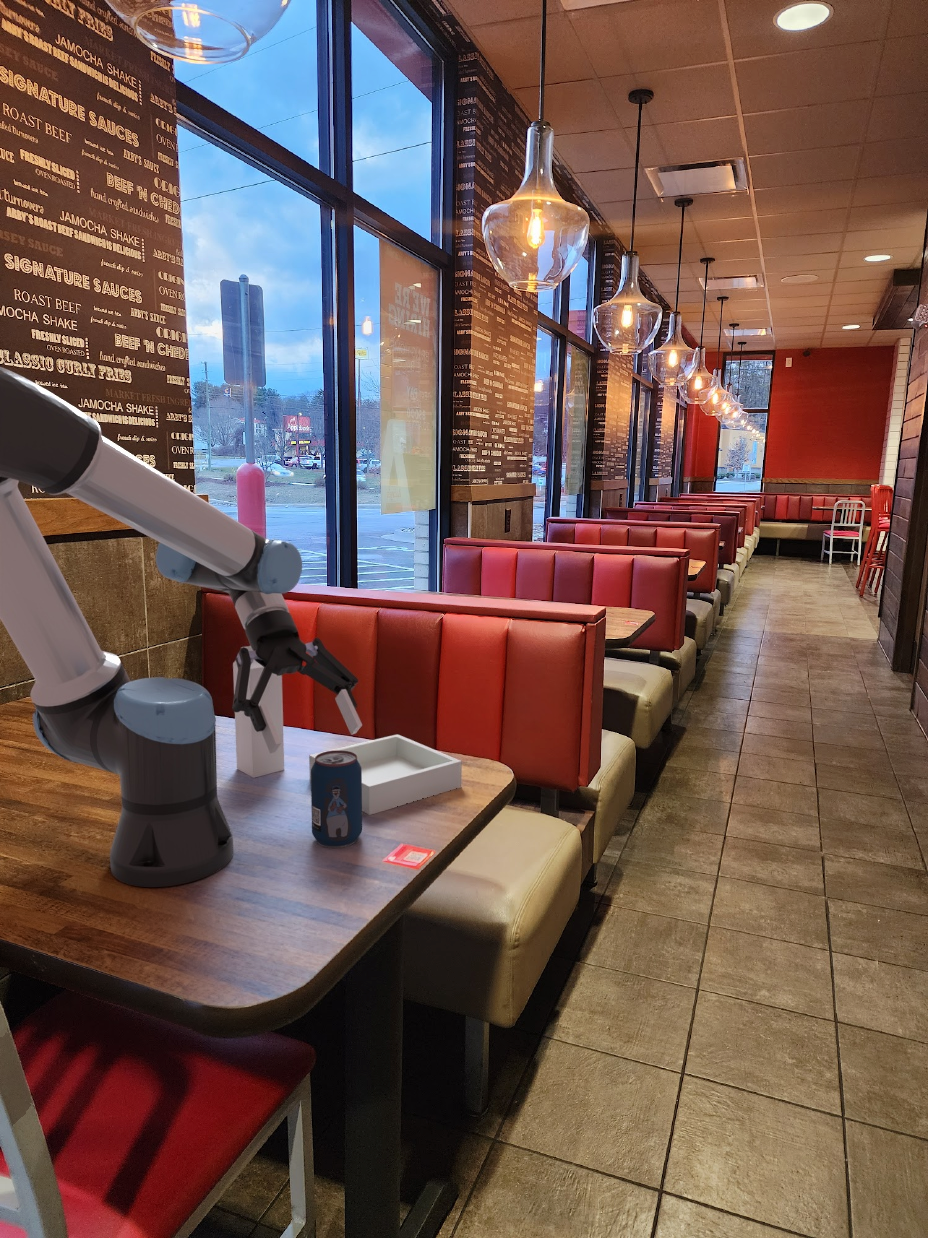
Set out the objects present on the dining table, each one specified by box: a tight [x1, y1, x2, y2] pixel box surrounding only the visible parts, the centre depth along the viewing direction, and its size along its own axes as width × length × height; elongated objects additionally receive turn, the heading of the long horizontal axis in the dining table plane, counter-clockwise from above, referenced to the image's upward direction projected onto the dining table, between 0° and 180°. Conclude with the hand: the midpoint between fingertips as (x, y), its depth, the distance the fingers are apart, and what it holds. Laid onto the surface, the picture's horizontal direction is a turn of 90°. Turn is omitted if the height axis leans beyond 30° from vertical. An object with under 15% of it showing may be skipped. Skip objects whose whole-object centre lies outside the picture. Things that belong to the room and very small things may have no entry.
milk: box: [232, 645, 285, 779], centre depth 136 cm, size 6×6×22 cm
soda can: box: [310, 750, 363, 849], centre depth 110 cm, size 7×7×12 cm
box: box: [308, 734, 463, 816], centre depth 131 cm, size 18×18×4 cm
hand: (317, 739), depth 116 cm, fingers open, 13 cm apart
